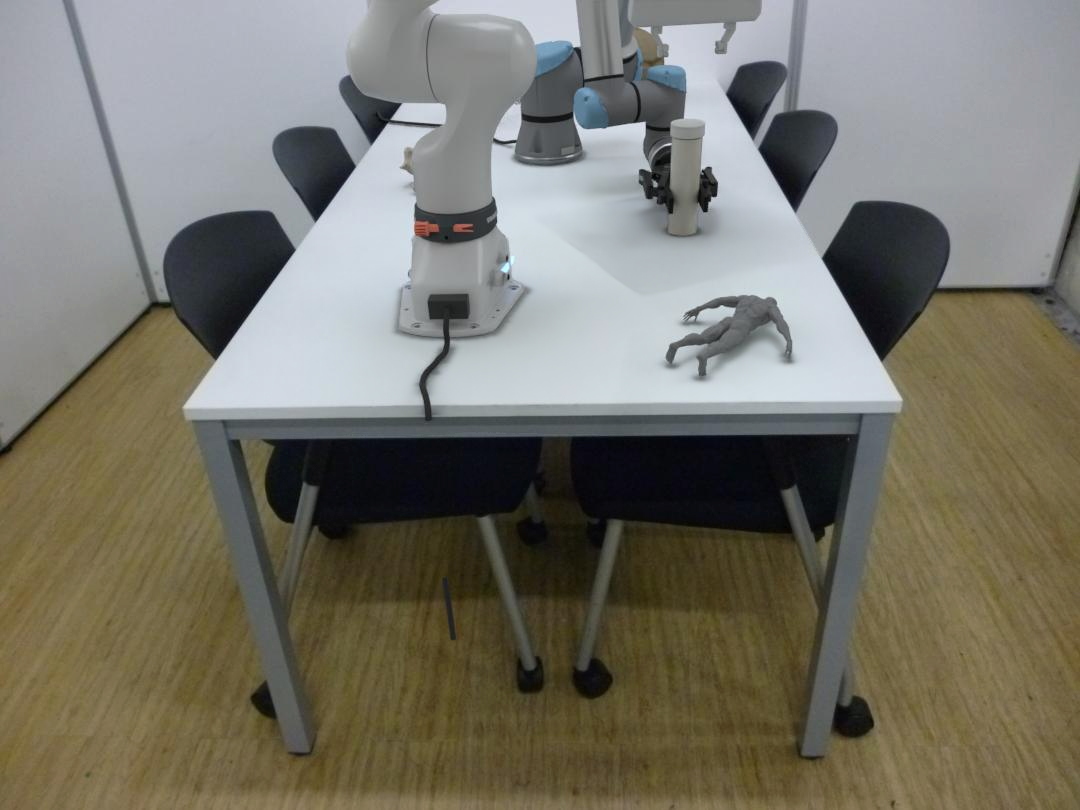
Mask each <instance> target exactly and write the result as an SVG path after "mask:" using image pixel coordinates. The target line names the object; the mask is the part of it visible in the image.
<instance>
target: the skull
mask: <svg viewBox="0 0 1080 810" xmlns="http://www.w3.org/2000/svg"><path fill="white" fill-rule="evenodd" d="M633 36H634V38H635V39H636V41H637V45H638V47H639V48H640V50H641V54H642V58H643V63H642V65H641V66H642V67H643V71H642V77H641V80H640V81H642V80H646V76H647V71H648V69H649V68H651V67H654V66H658V65H665V57H663V58H659V57H657V44H656V42H655V40H654V38H653V36H652V34H651V32H649V31H647V30H646V29H643V28H641V27H640V28H636V27H635V30H634V34H633Z"/></svg>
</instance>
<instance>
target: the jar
mask: <svg viewBox="0 0 1080 810" xmlns="http://www.w3.org/2000/svg"><path fill="white" fill-rule="evenodd" d="M703 140H704V136H703V137H701V138H697V139H678V138H674V137H672V145H671V167H670V190H671V192H672V195H673V197H674V206H673V214H668V213H667V215H668V216H667V232H668V234H671V235H673V236H678V237H688V236H692V235H694V234H696V233H697V231H698V215H699V203H698V202H699V187H700V171H702V169H701V168H702V155H703Z"/></svg>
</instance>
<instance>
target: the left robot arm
mask: <svg viewBox="0 0 1080 810" xmlns="http://www.w3.org/2000/svg"><path fill="white" fill-rule="evenodd" d="M438 2H440V0H370V4H369V7H368V10H367V12H366V14H365V15H364V17H363V18H362V19H361V20H360V21H359V22H358V23H357V24H355V27H354V28H353V29H352V31H351V33H350V35H349V38H348V41H347V44H346V51H345V59H346V61H345V62H346V67H347V71H348V73H349V76H350V79H351V80H352V82H353V84H354V85H355V87H356V88H357V90H359V92H360V93H361V94H362V95H363V96H366V97H369V98H373V99H378V100H382V101H385V102H391V103H395V104H440V105H444V106H445V115H446V116H445V122H444V123H443V125H441V126H439V127H435V128H434V129H432V130H431V131H429V132H427V133H426V134H424V135H423V136H421V137H420V138H419V139H418V141H416V143H415V144H414V146H413V152H412V157H411V161H412V169H413V175H412V176H413V184H414V186H415V192H414V194H415V199H416V202H415V203H414V209H413V210H414V211H413V222H414V223H413V232H414V235H413V236H412V237H411V246H412V247H411V248H412V250H411V262H410V263H411V266H410V269H408V271H407V277H408V278H409V279H410V280H408V281H405V282H404V283H403V284H402V292H401V299H400V308H399V309H400V310H399V318H398V329H399V331H401V332H403V333H406V334H410V335H415V336H421V337H422V336H423V337H434V338H435V337H437V338H443V347H442V350H441V351H440V353H439V354H437V356H436V357H435V358H434V359H433V361H432V362H430V364H429V365H428V366H427V367H426V368H425V369H424V370H423V371H422V374H421V376H420V379H419V382H418V383H419V384H418V386H419V392H420V394H421V397H422V400H423V408H424V420H425V422H431V421H432V420H433V415H432V404H431V399H430V394H429V391H428V389H427V380H428V377H429V376H430V374H432V372H433V371H434V370H435V369H436V368H437V367H438V366H439V364H440V363H441V362H442V361H443V360H444V359H445V358H446V357H447V356H448V353H449V351H450V346H451V338H458V337H459V338H460V337H473V336H479V335H484V334H489V333H492V332H494V331H496V330H497V328H498V327H499V326H500V324H502V322H503V320H504V319H505V318H506V316H507V315H508V314H509V312H510V311H511V309H512V308H513V307H514V306H515V304H516V303H517V301H518V300H519V298H520V297H522V295H523V293H524V292H525V287H524V283H523V282H522V281H519V280H517V279H514V277H513V268H512V265H513V264H514V262H515V256H514V255H511V249H510V241H509V238H508V237H507V236H506V235H505V234H504V233H503V232H502V231H501V230H500V228H499V227H498V225H497V224H498V206H497V201H496V198H495V196H493V185H492V183H493V182H492V151H493V144H494V143H493V142H494V141H493V139H494V138H495V135H496V133H497V129H498V127H499V124H500V123H501V121H502V119H503V118H504V116H505V115H506V113H507V112H508V111H509V110H510V109H511V107H512V106H513V105H514V104H516V102H518V101H519V100H520V98H521V97H522V96H523V95H524V94H525V93H526V92H527V90H528V89H529V88H530V86H531V84H532V82H533V80H534V77H535V74H536V69H537V52H536V47H535V45H536V43H535V41H534V38H533V35H532V34H531V33H530V31H529V30H528V28H527V27H526V25H525V24H523V22H522V21H520V20H517V19H512V18H508V17H505V16H500V15H494V14H489V13H455V14H454V13H451V14H450V13H449V14H448V13H447V14H446V13H445V14H444V13H442V14H441V13H436V12H434V11H432V10H431V6H433V5H434V4H436V3H438ZM762 7H763V0H629V4H628V21H629V22H630V23H631V25H632V26H634V27H636V28H640V29H641V28H650V33H651V34H652V36H653V38H654V40H655V42H656V44H657V57H659V58H663V57H664V58H669V51H670V45H669V44H668V43H663V40H662V39H661V36H660V35H662V34H663V27H672V26H673V27H674V26H675V27H676V26H689V25H690V26H691V25H708V24H709V25H710V24H711V25H712V24H723V29H725V31H724V33H723V34H722V36H721V38H720V40H715V42H714V43H715V44H714V46H715V48H714V54H715V55H726V54H728V53H727V52H728V43H729V41H730V40H731V38H732V37H733V35H734V33H735V32H736V29H737V23H745V22H746V23H747V22H756V21H757V19H758V18H759V17H760V16H761V14H762ZM414 186H413V187H414ZM441 581H442V588H443V596H444V602H445V611H446V616H447V625H448V631H449V638H450V640H451V641H455V640H457V633H456V627H455V619H454V610H453V606H452V605H453V603H452V596H451V591H450V590H451V589H450V583H449V576H446V577H443V578H441Z"/></svg>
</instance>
